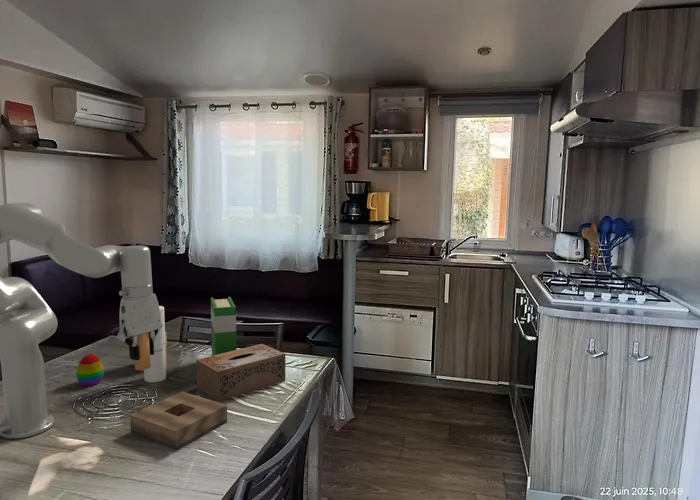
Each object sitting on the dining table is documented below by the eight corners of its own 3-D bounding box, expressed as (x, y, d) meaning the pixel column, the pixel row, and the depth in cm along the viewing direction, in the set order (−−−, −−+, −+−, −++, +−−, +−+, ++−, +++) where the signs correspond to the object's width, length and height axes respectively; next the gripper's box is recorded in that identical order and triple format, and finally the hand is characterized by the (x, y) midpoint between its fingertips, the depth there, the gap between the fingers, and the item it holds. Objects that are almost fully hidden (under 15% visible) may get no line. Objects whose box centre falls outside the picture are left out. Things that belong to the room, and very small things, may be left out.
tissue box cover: (218, 402, 153) (217, 371, 152) (196, 388, 163) (196, 359, 162) (285, 381, 171) (285, 353, 169) (262, 370, 181) (262, 343, 180)
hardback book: (211, 357, 193) (210, 297, 190) (231, 355, 195) (230, 296, 192) (215, 373, 176) (214, 308, 173) (236, 371, 179) (235, 306, 176)
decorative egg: (91, 377, 171) (90, 349, 170) (109, 380, 168) (108, 352, 167) (71, 385, 163) (69, 356, 162) (90, 389, 161) (88, 359, 160)
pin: (141, 371, 132) (138, 328, 131) (131, 368, 134) (128, 326, 133) (154, 366, 136) (151, 324, 134) (144, 364, 138) (141, 322, 136)
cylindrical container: (169, 375, 174) (167, 306, 171) (160, 382, 167) (157, 311, 164) (150, 374, 175) (148, 305, 172) (140, 381, 168) (137, 310, 164)
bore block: (176, 450, 124) (176, 431, 124) (130, 432, 133) (130, 414, 132) (227, 421, 140) (226, 405, 139) (182, 407, 149) (182, 391, 148)
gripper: (119, 299, 123) (124, 368, 125) (172, 287, 138) (176, 349, 140) (100, 296, 127) (105, 364, 129) (154, 284, 141) (158, 346, 144)
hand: (142, 356), depth 135 cm, fingers closed on pin, 4 cm apart
